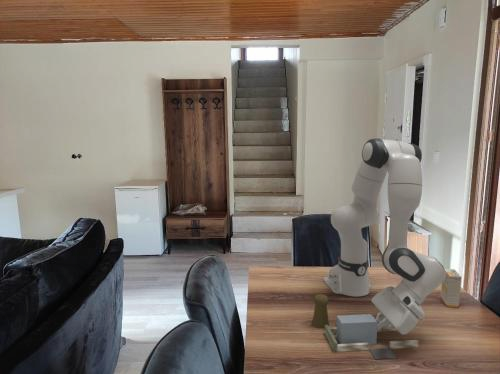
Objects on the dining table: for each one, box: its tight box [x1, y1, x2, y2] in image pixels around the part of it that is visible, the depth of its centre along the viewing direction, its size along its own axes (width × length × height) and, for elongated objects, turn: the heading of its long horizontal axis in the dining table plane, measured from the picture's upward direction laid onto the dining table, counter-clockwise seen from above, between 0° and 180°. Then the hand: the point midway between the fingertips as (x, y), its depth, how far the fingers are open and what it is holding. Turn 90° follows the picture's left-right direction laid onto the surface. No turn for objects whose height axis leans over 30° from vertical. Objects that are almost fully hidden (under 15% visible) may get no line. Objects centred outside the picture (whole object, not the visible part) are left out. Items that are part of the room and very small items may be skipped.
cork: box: [311, 293, 330, 329], centre depth 132 cm, size 6×6×11 cm
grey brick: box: [335, 313, 378, 345], centre depth 121 cm, size 12×5×8 cm, turn 95°
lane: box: [324, 323, 419, 360], centre depth 122 cm, size 28×21×3 cm
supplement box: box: [440, 268, 462, 308], centre depth 147 cm, size 8×5×13 cm, turn 168°
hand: (375, 326), depth 122 cm, fingers closed, pressing on grey brick
